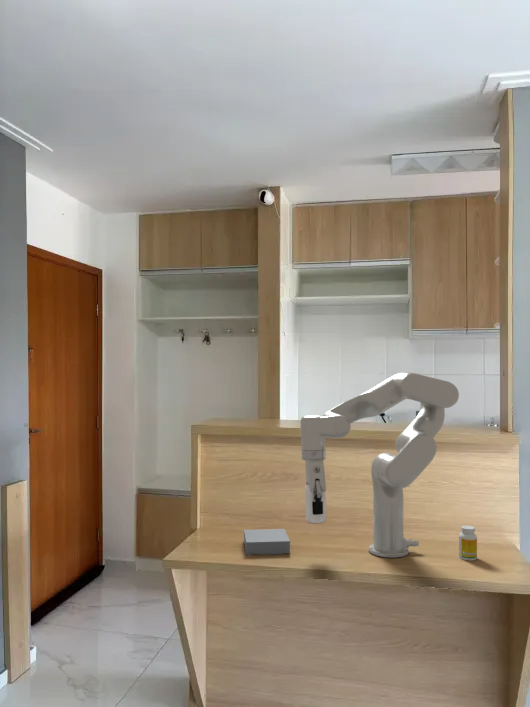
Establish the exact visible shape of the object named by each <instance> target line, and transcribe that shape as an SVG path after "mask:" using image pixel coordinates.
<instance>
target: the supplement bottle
mask: <svg viewBox="0 0 530 707" xmlns="http://www.w3.org/2000/svg"><path fill="white" fill-rule="evenodd" d="M460 529H461V532H460V533H459V534H458V557H459V558H460V559H461V560H463V561H464V560H465V561H472V562H473V561H476V560H477V558H478V537H477V534H476V533H475V532H476V529H475V526H471V525H462V526H461V528H460Z"/></svg>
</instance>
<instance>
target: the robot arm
mask: <svg viewBox="0 0 530 707" xmlns="http://www.w3.org/2000/svg"><path fill="white" fill-rule="evenodd" d="M459 398H460V393H459V390H458V387H456V385H455V384H453V383H452V382H451V381H446V380H443V379H439V378H434V377H430V376H426V375H424V374H420V373H416V372H398V373H396V374H394V375H392V376H391V377H389V378H386V379H385V380H383V381H382V382H380V383H378V384H377V385H376V386H373V387H372V388H370V389H368V390H367V391H364V392H363V393H360V394H358V395H357V396H354V397H353V398H350V399H348V400H345V401H344V402H342V403H340V404H339V405H336V406H335V407H333V408H332V409H330V410H327V411H326V412H325V413H324V414H323V415H318V414H316V415H315V414H312V415H311V414H310V415H304V416H302V417H301V418H300V441H301V442H300V444H301V446H300V447H301V460H302V461H304V462H305V465H304V466H305V484H306V483H307V484H308V485H309V489H310V491H311V492H312V495H313V501H312V510H313V515H318V514H323V501H322V492H321V488H322V491H323V492H325V493H326V491H327V486H326V485H327V483H326V472H325V463H324V460H326V458H327V457H326V456H327V454H326V438H328V439H343V438H345V437H346V436H348V435H349V433H350V432H351V427H352V425H351V424H353V423H354V422H357V421H359V420H362V419H366V418H367V419H368V418H374V417H376V416H381V414H383V413H385V412H386V411H388V410H390V409H391V408H394V406H396V405H398V404H399V403H401V402H404V401H405V400H410V401H415V402H418V403H420V407H419V408H420V409H419V411H418V414H417V415H416V416H415V417H414V418H413V420H412V421H411V422H410V423H409V424H408V426H407V427H406V428H404V430H403V431H402V432H401V433H400V434H399V435H398V436H397V438H396V440H395V445H394V446H395V449H396V452H397V454H393V453H390V452H382V453H379V454H378V455H377V456H375V458H374V459H373V461H372V462H371V467H370V468H371V470H370V472H371V473H370V474H371V480H372V482H371V483H372V491H373V492H372V493H373V495H372V496H373V502H372V503H373V510H372V512H373V543H372V544H370V545H369V546H368V551H369V553H370V554H373V555H374V556H377V557H382V558H389V559H390V558H391V559H393V558H394V559H395V558H403V557H406V556H408V554H409V548H410V547H419V545H420V544H419V540H418V539H415V540H414V539H412V538H405V537H404V534H405V533H404V489H406V488H407V487H409V486H410V485H412V484H413V483H414V482H415V480H416V479H417V478H418V477H419V476H420V475H421V474H422V473H423V472H424V470H425V469H426V468H427V467H428V466H429V465H430V464H431V462H432V461H433V459H434V458H435V456H436V454H437V442H436V440H435V437H436V435H437V434H438V433H439V432H440V430H441V429H442V427H443V425H444V421H445V416H446V414H445V412H446V410H445V409H449V408H451V407H453V406H455V405H456V404H457V402H458V401H459ZM314 489H316V491H314ZM315 494H316V495H315Z"/></svg>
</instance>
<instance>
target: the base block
mask: <svg viewBox="0 0 530 707" xmlns="http://www.w3.org/2000/svg"><path fill="white" fill-rule="evenodd" d="M243 544H245V545H244V549H245V550H244V551H245V554H246V556H253V555H252V554H265V555H284V554H283V553H290V554H291V541H290V538H289V535H288V534H287V531H286V529H285V528H271V529H270V528H268V529H266V528H265V529H263V528H262V529H244V530H243Z"/></svg>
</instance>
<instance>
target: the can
mask: <svg viewBox="0 0 530 707" xmlns="http://www.w3.org/2000/svg"><path fill="white" fill-rule="evenodd" d="M314 491H316V489H314ZM321 492H322V501H323V514H318V515H313V510H312V501H313V495H312V492H311V491H310V489H309V485H308V484H307V483H306V482H305V487H304V503H305V505H304V506H305V508H304V509H305V521H306V523H308V524H314V525H316V524H323V523H326V521H327V502H326V501H327V500H326V491H325V492H323V491H322V488H321ZM315 495H316V494H315Z"/></svg>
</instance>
